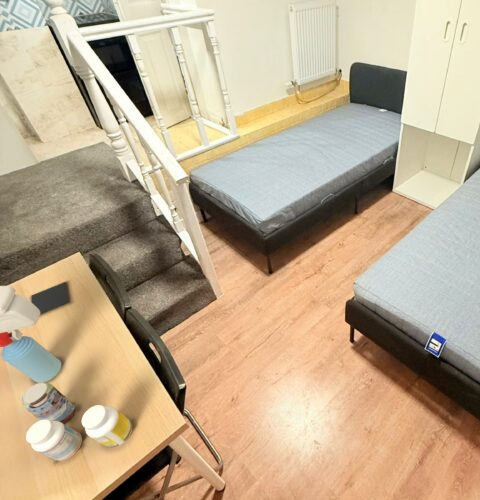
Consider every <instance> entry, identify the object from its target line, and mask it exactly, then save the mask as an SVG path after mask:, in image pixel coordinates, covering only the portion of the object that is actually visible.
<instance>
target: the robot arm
mask: <svg viewBox="0 0 480 500" xmlns="http://www.w3.org/2000/svg"><path fill="white" fill-rule="evenodd" d="M40 316H41V315H40V310H39V309H38V308H37V307H36V306H35V305H34V304H33V303H32V301H30V300H29V299H28V298H26V297H25V296H23V295H20V294H16V289H15V288H14V287H13V286H11V285H0V333H4V332H8V333H11V335H10V336H9V338H10V339H12V341H15V340H20V339H21V338H22V336H24V335H23V332H21V331H20V329H25V328H30V327H34V326H36V325H37V323H38V321H39V320H40Z"/></svg>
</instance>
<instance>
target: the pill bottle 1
mask: <svg viewBox="0 0 480 500" xmlns="http://www.w3.org/2000/svg"><path fill="white" fill-rule="evenodd" d="M25 440H26V442H27V443H29V444H30V446H31V448H32V450H34V451H35V452H37V453H40V454H42V455H44V456H46V457H48V458H50V459H53V460H55V461H58V462H62V461H66V460H68V459H70V458H71V457H72V456H74V455H75V454H76V453H77V452H78V451H79V450H80V447H81V446H82V442H83V437H82V434H81V433H80V432H78V431H77V430H75V429H73V428H71V427H70V426H68V425H67V424H63V423H61V422H59V421H49V420H46V419H43V420H38V421H35V422H34V423H33V424H32V425H31V426H30V427H29V429H28V430H27V432H26V435H25Z"/></svg>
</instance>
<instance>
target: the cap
mask: <svg viewBox="0 0 480 500" xmlns="http://www.w3.org/2000/svg"><path fill="white" fill-rule="evenodd" d="M10 335H11V333H8V332H4V333H0V348H3V347H5V346H7V345H9V344H11V343H12V342H13V341H12V339H10V338H9V336H10Z"/></svg>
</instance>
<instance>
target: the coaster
mask: <svg viewBox="0 0 480 500" xmlns="http://www.w3.org/2000/svg"><path fill="white" fill-rule="evenodd" d="M31 303H33V304H34V305H35V306H36V307H37V308H38V309H39V310H40V316H41V315H43V314H45V313H48V312H50V311H52V310H55V309H57V308H60V307H62V306H64V305H66V304H69V303H70V297H69V291H68V285H67V282H66V281H64V282H62V283H59V284H57V285H54V286H52V287H49V288H47V289H44V290H42V291H39V292H37V293H34V294H32V295H31Z"/></svg>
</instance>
